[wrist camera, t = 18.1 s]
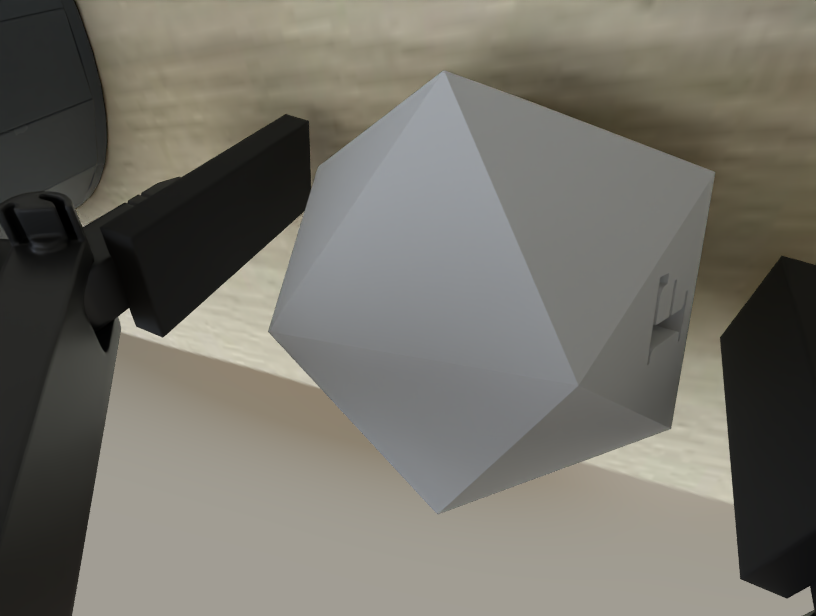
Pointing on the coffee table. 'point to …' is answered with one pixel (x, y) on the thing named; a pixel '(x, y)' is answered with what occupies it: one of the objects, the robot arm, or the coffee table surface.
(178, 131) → the coffee table surface
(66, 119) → the pot
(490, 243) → the die
